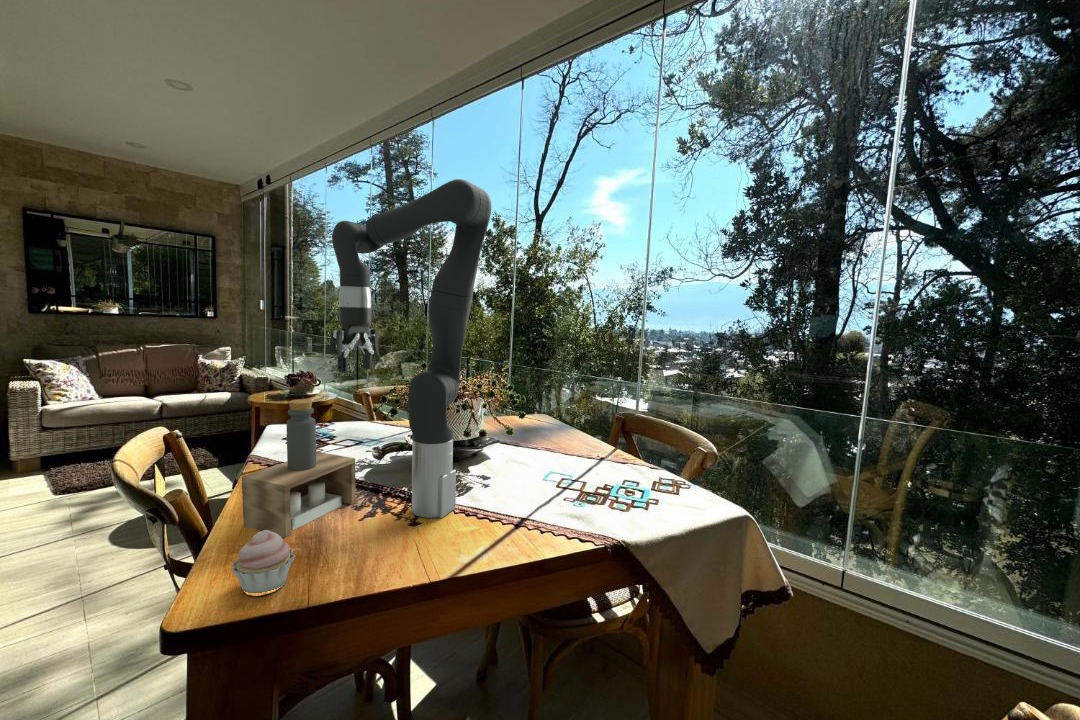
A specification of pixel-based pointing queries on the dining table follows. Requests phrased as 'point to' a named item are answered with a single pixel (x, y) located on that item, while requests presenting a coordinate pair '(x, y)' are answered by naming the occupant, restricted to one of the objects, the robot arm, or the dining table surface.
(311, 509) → the shelved tray
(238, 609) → the dining table surface
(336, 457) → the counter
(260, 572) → the cupcake
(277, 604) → the dining table surface
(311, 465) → the bottle
